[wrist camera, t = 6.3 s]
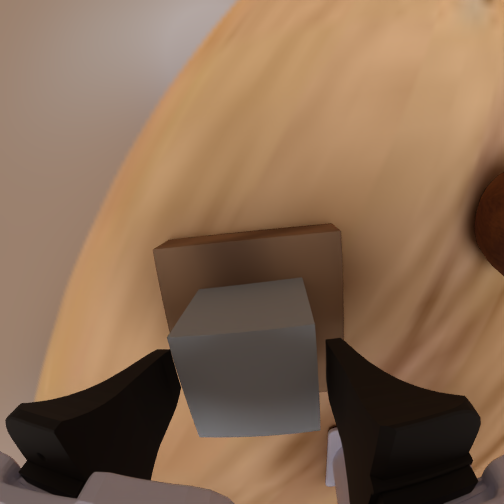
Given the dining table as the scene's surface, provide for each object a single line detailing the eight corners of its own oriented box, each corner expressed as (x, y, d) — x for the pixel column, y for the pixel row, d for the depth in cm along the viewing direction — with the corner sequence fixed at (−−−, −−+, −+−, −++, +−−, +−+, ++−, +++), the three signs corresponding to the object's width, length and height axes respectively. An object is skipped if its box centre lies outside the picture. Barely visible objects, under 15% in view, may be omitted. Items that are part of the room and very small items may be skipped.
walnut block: (329, 222, 17) (340, 231, 14) (334, 361, 19) (342, 389, 16) (171, 238, 18) (152, 249, 15) (198, 370, 20) (187, 397, 17)
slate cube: (302, 277, 15) (314, 324, 10) (310, 365, 16) (320, 430, 11) (198, 289, 15) (166, 337, 10) (217, 373, 16) (199, 437, 11)
